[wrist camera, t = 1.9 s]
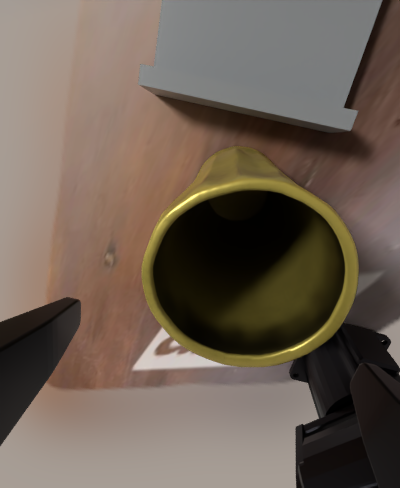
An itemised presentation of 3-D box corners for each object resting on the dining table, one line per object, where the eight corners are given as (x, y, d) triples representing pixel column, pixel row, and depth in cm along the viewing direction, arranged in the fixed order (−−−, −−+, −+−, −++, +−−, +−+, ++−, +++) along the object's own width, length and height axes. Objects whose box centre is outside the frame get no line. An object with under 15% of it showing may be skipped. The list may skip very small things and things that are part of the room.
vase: (179, 177, 20) (74, 247, 7) (252, 127, 18) (307, 85, 5) (223, 244, 21) (209, 409, 8) (295, 203, 20) (426, 327, 6)
